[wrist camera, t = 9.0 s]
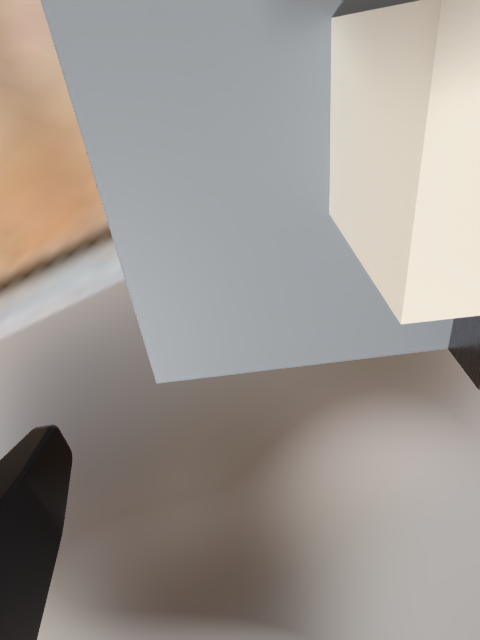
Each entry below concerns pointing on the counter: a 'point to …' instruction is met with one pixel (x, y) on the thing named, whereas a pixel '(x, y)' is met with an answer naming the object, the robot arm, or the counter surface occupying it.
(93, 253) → the counter surface
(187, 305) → the shelf
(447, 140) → the tea box
